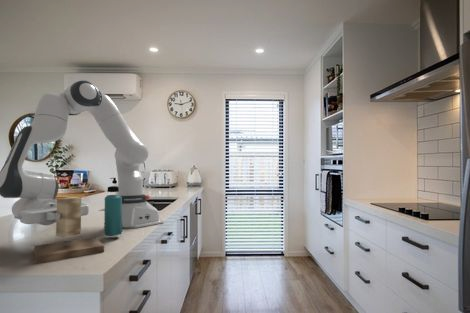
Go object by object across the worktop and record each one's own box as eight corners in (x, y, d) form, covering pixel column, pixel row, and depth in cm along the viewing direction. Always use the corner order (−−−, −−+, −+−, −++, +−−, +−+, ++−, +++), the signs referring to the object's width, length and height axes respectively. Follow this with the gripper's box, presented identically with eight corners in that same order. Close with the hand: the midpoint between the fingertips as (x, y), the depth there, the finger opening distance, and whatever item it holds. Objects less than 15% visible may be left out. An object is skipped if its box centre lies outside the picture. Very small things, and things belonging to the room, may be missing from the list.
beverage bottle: (125, 237, 109) (125, 186, 110) (107, 241, 105) (107, 187, 105) (118, 235, 114) (118, 185, 115) (101, 238, 109) (101, 186, 110)
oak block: (71, 232, 95) (72, 196, 95) (80, 234, 93) (81, 197, 93) (56, 235, 91) (57, 198, 91) (65, 237, 88) (66, 199, 89)
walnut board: (94, 242, 103) (95, 237, 103) (104, 251, 91) (104, 245, 92) (34, 252, 92) (34, 245, 92) (36, 263, 81) (36, 256, 81)
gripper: (11, 206, 89) (35, 209, 82) (74, 199, 107) (98, 201, 100) (11, 226, 89) (35, 231, 82) (74, 216, 107) (98, 219, 100)
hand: (70, 215), depth 91 cm, fingers closed on oak block, 5 cm apart
